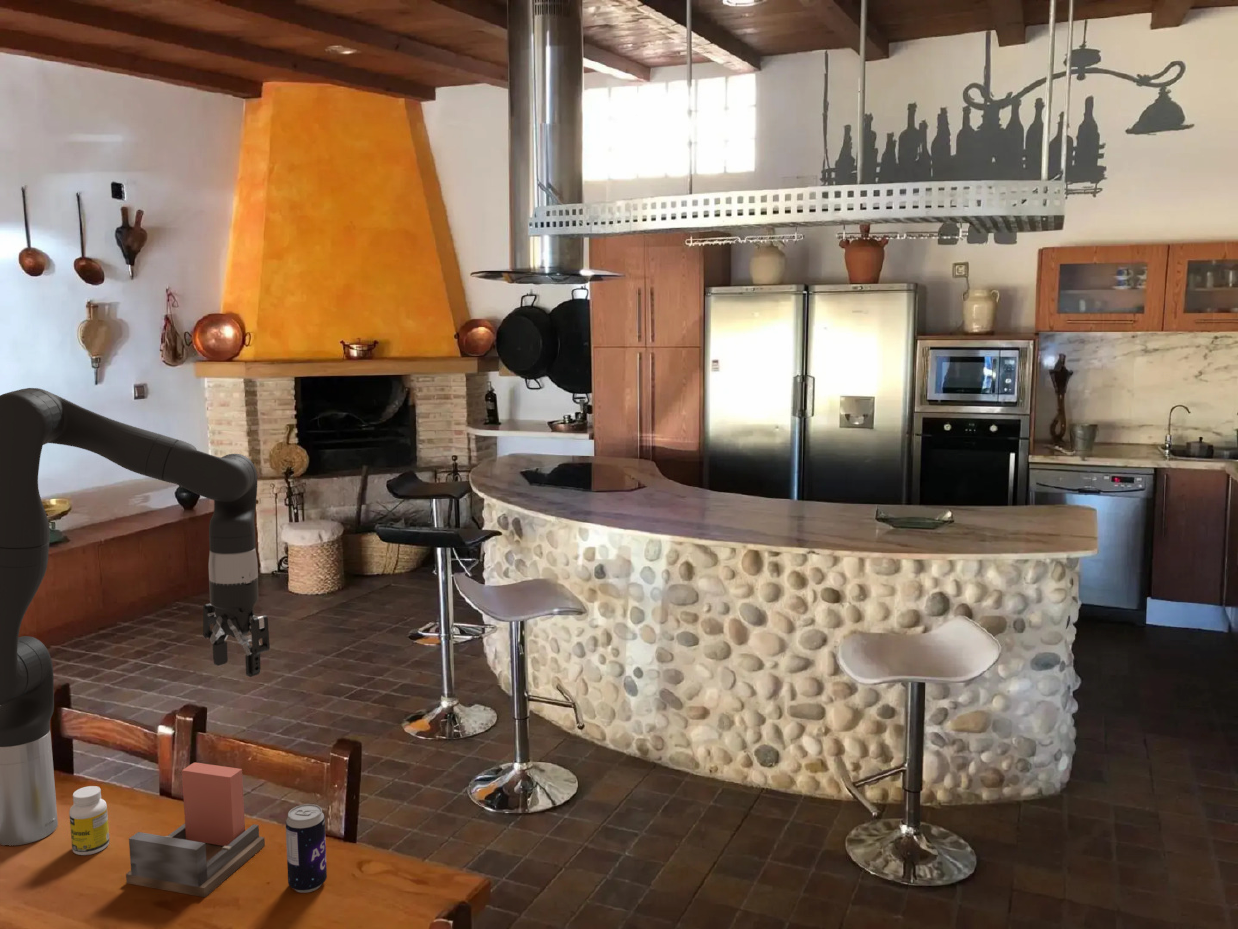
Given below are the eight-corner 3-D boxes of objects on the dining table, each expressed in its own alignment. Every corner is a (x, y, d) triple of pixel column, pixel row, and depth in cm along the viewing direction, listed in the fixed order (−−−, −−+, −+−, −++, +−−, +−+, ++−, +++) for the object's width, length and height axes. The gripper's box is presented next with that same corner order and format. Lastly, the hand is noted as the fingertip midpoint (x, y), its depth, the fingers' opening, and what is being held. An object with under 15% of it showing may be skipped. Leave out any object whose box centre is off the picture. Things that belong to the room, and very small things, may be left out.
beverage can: (315, 898, 146) (312, 823, 144) (281, 893, 147) (277, 819, 146) (333, 877, 152) (331, 805, 150) (300, 872, 153) (297, 801, 151)
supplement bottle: (64, 852, 158) (59, 795, 156) (93, 836, 163) (89, 781, 161) (88, 859, 156) (84, 802, 154) (117, 843, 161) (113, 787, 159)
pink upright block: (186, 839, 159) (181, 770, 157) (198, 830, 161) (194, 762, 160) (233, 847, 156) (230, 777, 155) (245, 838, 159) (242, 769, 158)
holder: (126, 883, 149) (123, 837, 148) (191, 834, 164) (189, 792, 163) (204, 897, 146) (202, 851, 145) (264, 845, 160) (262, 803, 159)
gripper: (186, 573, 161) (190, 667, 163) (241, 588, 153) (244, 686, 156) (226, 564, 167) (229, 654, 170) (280, 578, 160) (283, 672, 162)
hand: (236, 669), depth 163 cm, fingers open, 8 cm apart
